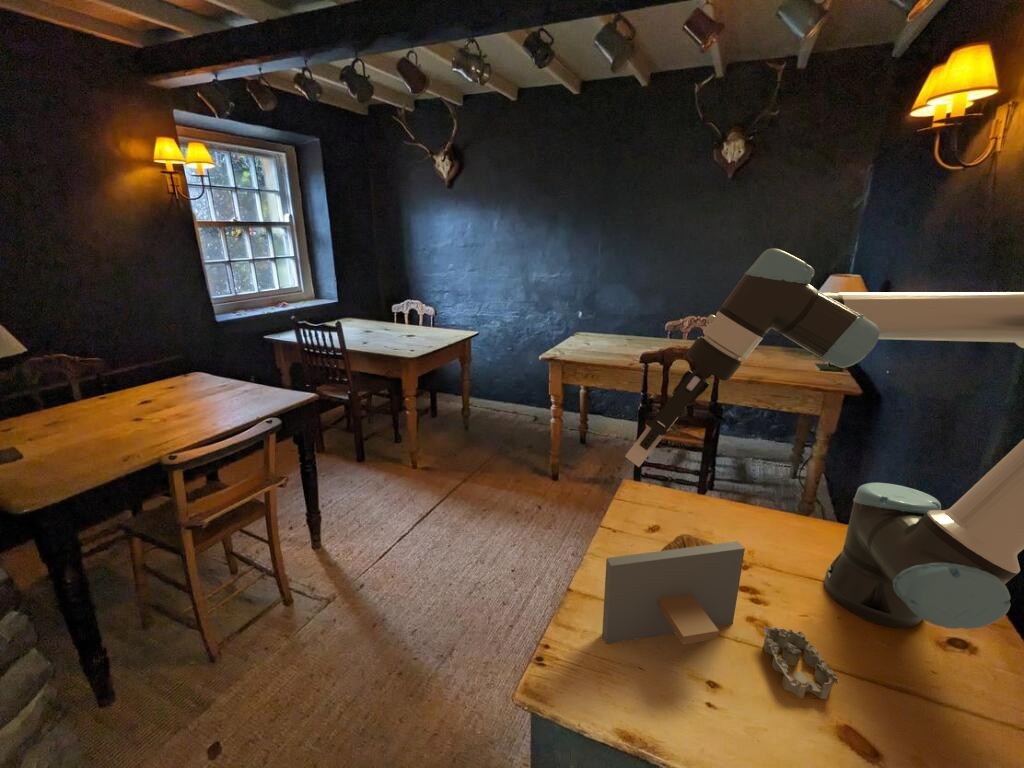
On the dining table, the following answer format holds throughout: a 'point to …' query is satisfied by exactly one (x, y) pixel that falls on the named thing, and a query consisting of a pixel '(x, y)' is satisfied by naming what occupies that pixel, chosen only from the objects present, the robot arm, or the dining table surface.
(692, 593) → the wall board
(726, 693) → the dining table surface
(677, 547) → the croissant
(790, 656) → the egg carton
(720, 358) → the robot arm
